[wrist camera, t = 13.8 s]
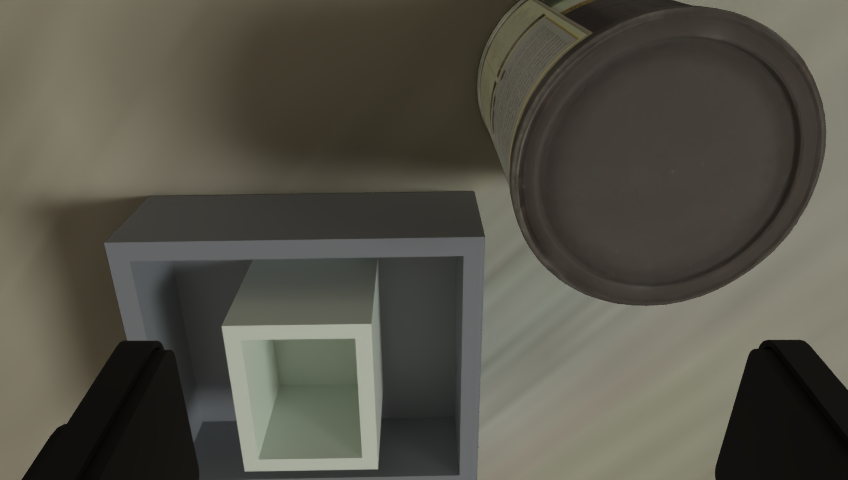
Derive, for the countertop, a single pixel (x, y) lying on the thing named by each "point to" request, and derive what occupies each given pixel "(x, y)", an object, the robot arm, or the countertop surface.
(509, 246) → the countertop surface
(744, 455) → the robot arm
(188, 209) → the charcoal crate
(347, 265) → the sage crate
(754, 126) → the coffee can
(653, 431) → the countertop surface
